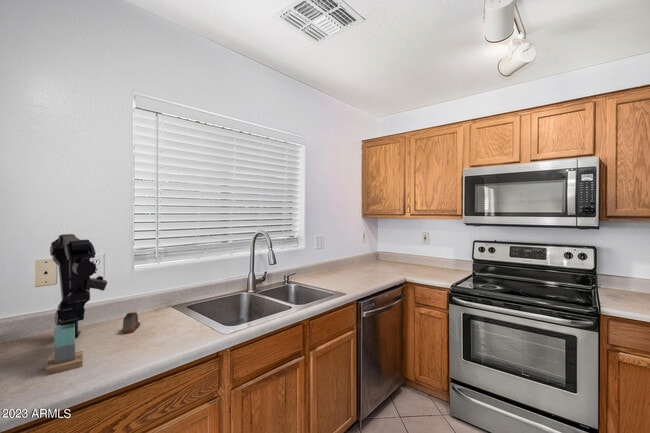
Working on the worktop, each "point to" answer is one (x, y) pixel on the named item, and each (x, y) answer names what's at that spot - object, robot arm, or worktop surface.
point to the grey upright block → (130, 322)
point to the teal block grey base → (64, 343)
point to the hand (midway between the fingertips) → (79, 314)
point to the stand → (64, 364)
